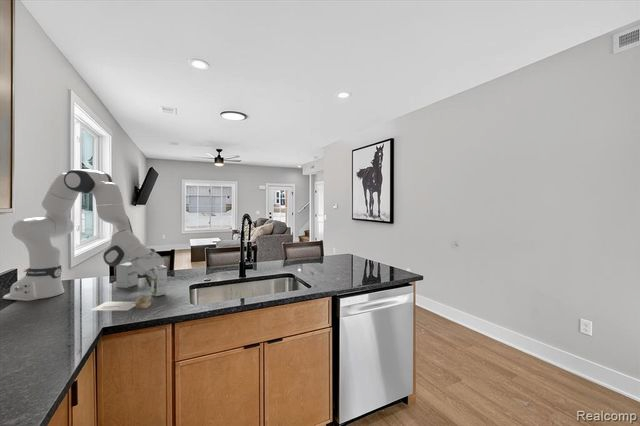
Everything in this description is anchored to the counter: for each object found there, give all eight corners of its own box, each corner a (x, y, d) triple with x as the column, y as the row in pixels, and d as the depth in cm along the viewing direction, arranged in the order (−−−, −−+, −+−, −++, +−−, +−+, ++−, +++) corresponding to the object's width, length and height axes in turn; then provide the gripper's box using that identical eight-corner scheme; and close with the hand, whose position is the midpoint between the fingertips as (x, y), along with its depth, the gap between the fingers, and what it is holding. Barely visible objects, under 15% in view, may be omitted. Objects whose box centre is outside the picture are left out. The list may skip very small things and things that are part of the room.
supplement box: (127, 288, 157) (127, 265, 156) (115, 287, 158) (115, 264, 158) (138, 284, 164) (138, 262, 164) (127, 283, 166) (127, 261, 165)
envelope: (89, 311, 124) (89, 310, 124) (106, 302, 135) (106, 301, 135) (127, 311, 125) (127, 310, 125) (141, 302, 136) (141, 301, 136)
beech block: (135, 309, 128) (135, 299, 128) (140, 305, 133) (140, 296, 132) (146, 309, 128) (146, 299, 128) (151, 305, 133) (151, 296, 133)
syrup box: (150, 293, 146) (151, 265, 145) (163, 291, 150) (163, 264, 150) (154, 296, 142) (154, 268, 141) (167, 294, 146) (167, 266, 146)
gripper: (134, 255, 135) (154, 276, 136) (155, 248, 155) (173, 267, 156) (123, 264, 134) (144, 285, 135) (147, 256, 155) (165, 274, 156)
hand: (160, 275), depth 146 cm, fingers open, 8 cm apart
